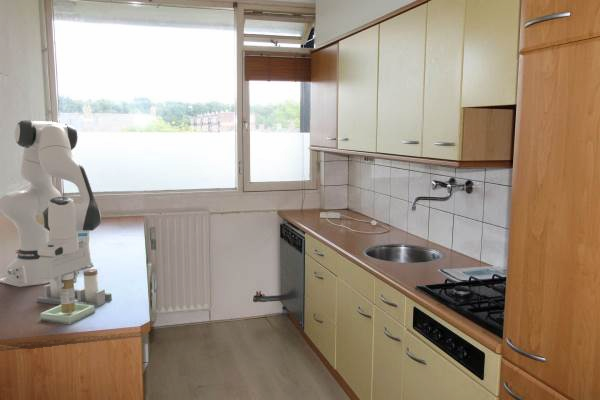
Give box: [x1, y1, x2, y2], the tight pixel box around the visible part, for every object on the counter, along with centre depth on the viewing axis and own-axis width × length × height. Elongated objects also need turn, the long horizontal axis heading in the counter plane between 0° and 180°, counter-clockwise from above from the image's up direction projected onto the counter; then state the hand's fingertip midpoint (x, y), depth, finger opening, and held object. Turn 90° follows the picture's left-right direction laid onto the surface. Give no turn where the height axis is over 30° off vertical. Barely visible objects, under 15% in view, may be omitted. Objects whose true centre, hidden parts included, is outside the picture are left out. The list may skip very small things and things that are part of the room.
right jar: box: [82, 268, 99, 305], centre depth 194 cm, size 5×5×12 cm
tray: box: [40, 303, 96, 325], centre depth 181 cm, size 12×12×2 cm
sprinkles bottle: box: [60, 272, 76, 313], centre depth 180 cm, size 5×5×14 cm
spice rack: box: [36, 283, 113, 307], centre depth 197 cm, size 25×10×5 cm, turn 71°
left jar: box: [49, 278, 60, 299], centre depth 199 cm, size 5×5×12 cm
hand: (66, 285), depth 180 cm, fingers closed on sprinkles bottle, 4 cm apart
